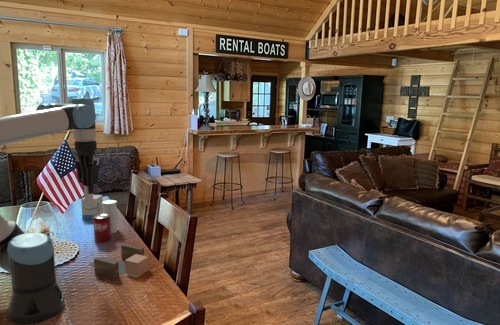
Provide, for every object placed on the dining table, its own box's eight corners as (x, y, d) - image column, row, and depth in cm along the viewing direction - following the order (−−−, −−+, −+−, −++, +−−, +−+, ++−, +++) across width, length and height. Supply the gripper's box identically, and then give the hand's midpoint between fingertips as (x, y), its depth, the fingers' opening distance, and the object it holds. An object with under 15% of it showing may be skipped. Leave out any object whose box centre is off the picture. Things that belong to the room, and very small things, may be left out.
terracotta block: (138, 275, 136) (137, 263, 135) (125, 272, 138) (124, 260, 137) (148, 268, 141) (148, 256, 140) (136, 265, 144) (135, 254, 143)
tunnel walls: (115, 279, 133) (114, 263, 132) (94, 273, 137) (93, 258, 136) (144, 261, 148) (143, 247, 147) (125, 257, 152) (124, 243, 151)
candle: (120, 231, 180) (118, 202, 177) (105, 234, 176) (103, 204, 173) (116, 227, 186) (115, 199, 183) (102, 230, 182) (100, 201, 179)
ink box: (97, 219, 197) (96, 198, 195) (82, 219, 198) (80, 198, 195) (104, 214, 206) (102, 194, 204) (89, 214, 206) (87, 194, 204)
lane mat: (135, 277, 135) (135, 277, 135) (87, 265, 144) (87, 264, 144) (149, 268, 142) (149, 268, 142) (103, 257, 151) (103, 256, 151)
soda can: (105, 244, 164) (104, 219, 162) (91, 243, 166) (89, 218, 164) (114, 238, 171) (113, 214, 169) (100, 237, 173) (99, 213, 171)
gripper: (106, 140, 136) (109, 201, 140) (82, 138, 142) (85, 197, 146) (88, 142, 129) (92, 206, 133) (64, 139, 135) (69, 201, 139)
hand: (89, 201), depth 139 cm, fingers closed
